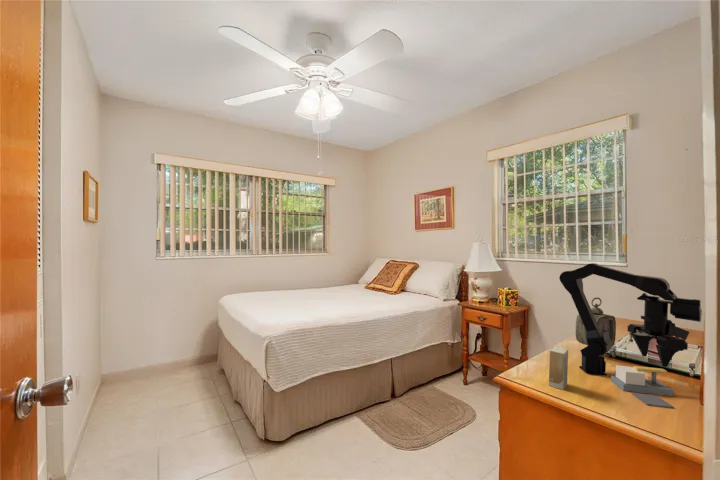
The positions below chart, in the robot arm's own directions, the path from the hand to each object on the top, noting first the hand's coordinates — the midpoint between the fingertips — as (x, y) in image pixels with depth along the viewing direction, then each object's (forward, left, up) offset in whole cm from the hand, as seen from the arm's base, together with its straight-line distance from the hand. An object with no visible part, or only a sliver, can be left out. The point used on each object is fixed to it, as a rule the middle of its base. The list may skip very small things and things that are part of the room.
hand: (654, 361), depth 104 cm
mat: (-6, -9, -10) cm, 15 cm away
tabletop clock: (-1, +35, -10) cm, 36 cm away
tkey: (-1, 0, -7) cm, 7 cm away
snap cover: (-7, 0, -8) cm, 10 cm away
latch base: (-4, 0, -10) cm, 10 cm away
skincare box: (-31, -5, -10) cm, 33 cm away
